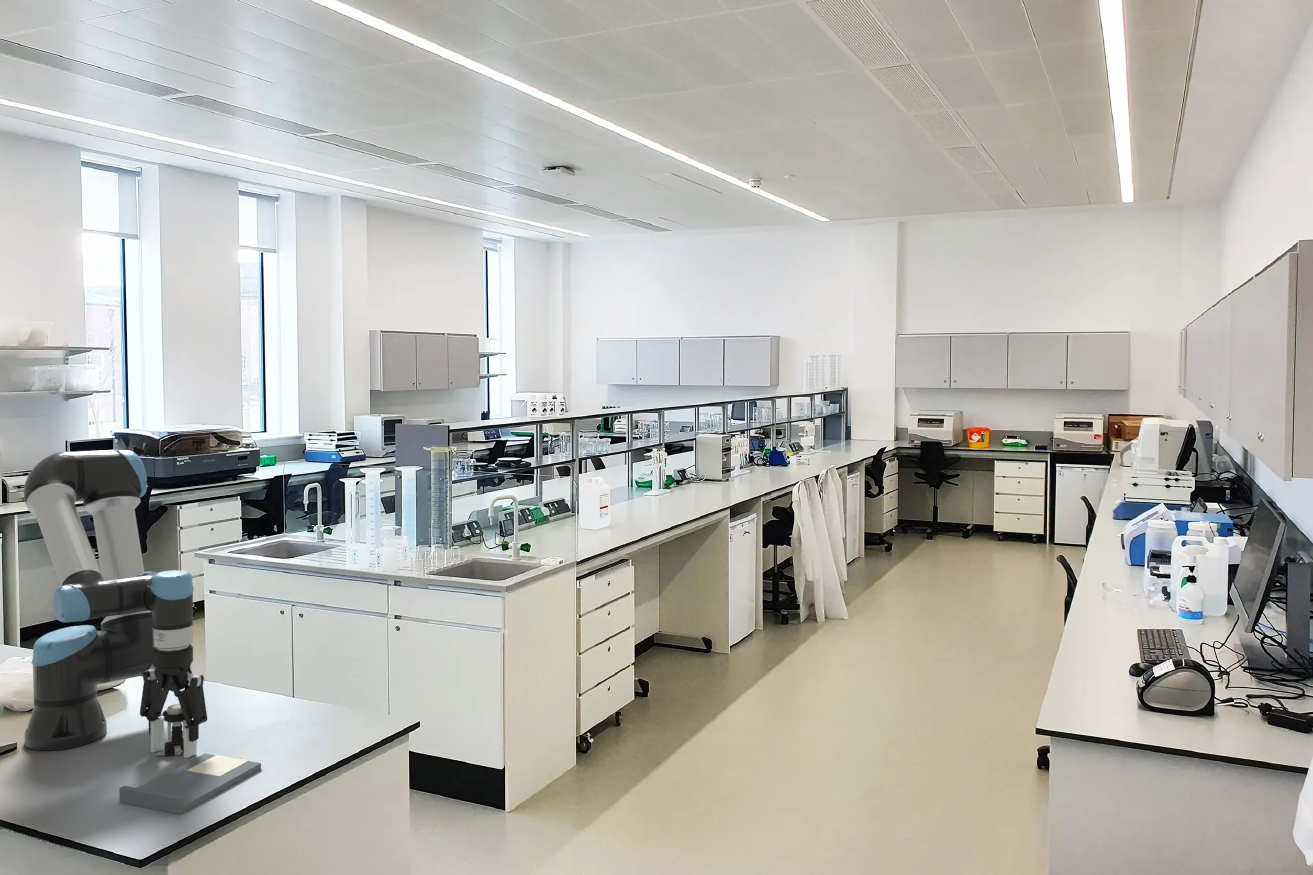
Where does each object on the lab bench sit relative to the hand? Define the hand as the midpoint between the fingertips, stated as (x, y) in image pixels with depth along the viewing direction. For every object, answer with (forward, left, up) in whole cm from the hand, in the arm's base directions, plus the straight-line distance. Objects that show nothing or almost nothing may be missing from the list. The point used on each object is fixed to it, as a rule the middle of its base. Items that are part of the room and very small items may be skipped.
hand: (173, 752), depth 195 cm
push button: (0, 0, 0) cm, 0 cm away
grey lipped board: (+15, -10, 0) cm, 18 cm away
